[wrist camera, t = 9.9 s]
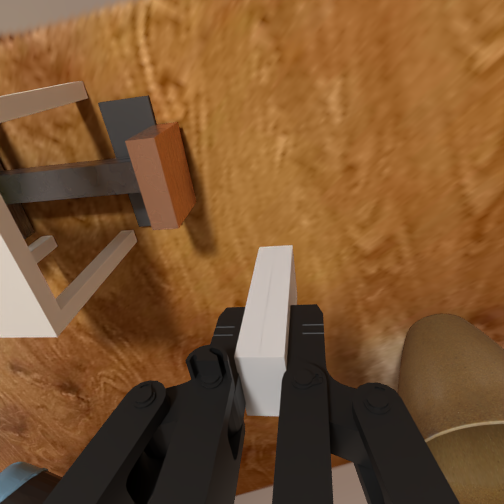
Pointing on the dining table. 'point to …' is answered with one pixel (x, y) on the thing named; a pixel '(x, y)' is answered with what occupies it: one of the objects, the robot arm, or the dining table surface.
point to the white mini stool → (26, 257)
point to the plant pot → (458, 403)
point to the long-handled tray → (113, 179)
